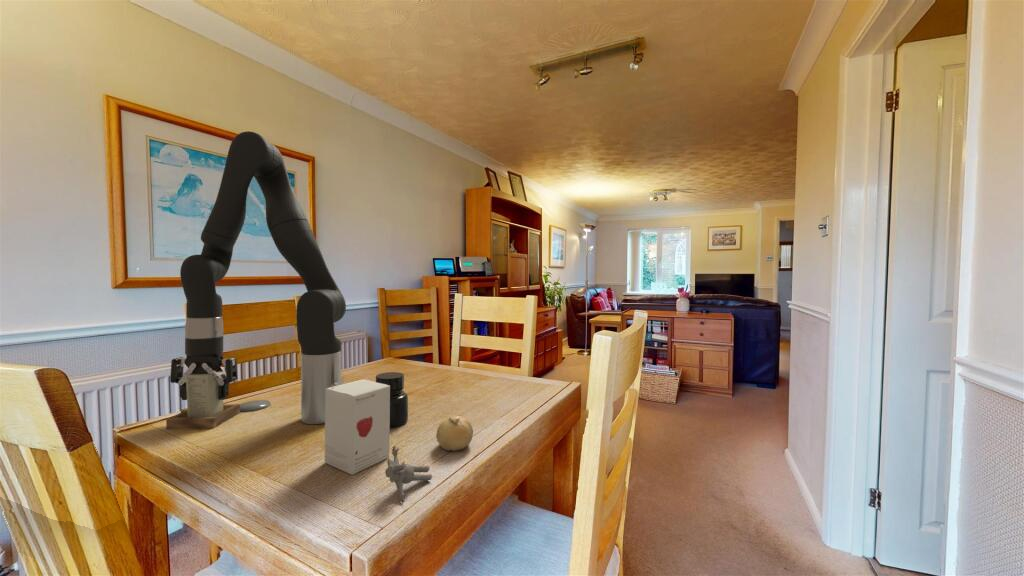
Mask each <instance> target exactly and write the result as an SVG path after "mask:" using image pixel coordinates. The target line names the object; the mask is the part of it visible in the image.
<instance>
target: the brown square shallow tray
mask: <svg viewBox="0 0 1024 576" xmlns="http://www.w3.org/2000/svg"><path fill="white" fill-rule="evenodd" d="M240 404H241V403H226V404H225V403H223V411H222V412H220V413H218V414H216V415H215V416H213V417H188V411H187V408H186V407H185V408H182V409H180V413H177V414H175V415H173V416H171V417H168V418H166V427H165V428H166V430H192V429H193V430H196V429H198V430H199V429H202V430H203V429H204V430H205V429H215V428H217V427H219V426H220V425H222V424H224V423H225V422H227V421H228V419H229V420H230V419H232V418H234V417H235V415H236V416H237V415H239V414H241V412H240ZM233 416H234V417H233ZM223 422H224V423H223Z"/></svg>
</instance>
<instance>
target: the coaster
mask: <svg viewBox="0 0 1024 576" xmlns="http://www.w3.org/2000/svg"><path fill="white" fill-rule="evenodd" d="M239 404H240V413H244V412H245V413H247V412H249V411H250V412H256V411H260V409H261V410H264V409H266V407H267V408H269V407H270V406H271V401H270V400H267V399H258V400H250V401H246V402H245V401H244V402H243V403H242V402H241V403H239ZM268 406H269V407H268ZM255 410H256V411H255Z"/></svg>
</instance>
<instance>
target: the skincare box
mask: <svg viewBox="0 0 1024 576" xmlns="http://www.w3.org/2000/svg"><path fill="white" fill-rule="evenodd" d="M221 372H222V371H221ZM216 373H220V372H216ZM218 386H219V383H218V382H217V381H216V380H215V379H213V378H212V374H191V375H186V389H187V400H186V406H187V411H188V417H213V416H215V415H216V414H218V413H220V412H222V411H223V404H224V399H223V400H219V399H218Z"/></svg>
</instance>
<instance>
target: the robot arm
mask: <svg viewBox="0 0 1024 576" xmlns="http://www.w3.org/2000/svg"><path fill="white" fill-rule="evenodd" d="M253 178H255V180H256V182H257V184H258V185H259V188H260V190H261V192H262V195H263V198H264V199H265V200H264V202H265V219H266V220H265V221H266V222H265V223H266V226H267V229H268V231H269V234H270V236H271V238H272V241H273V243H274V244H275V245H274V246H275V247H276V248H277V250H278V252H279V253H280V254H281V256H282V257H283V258H284V259H285V260H286V262H287V263H288V264H289V265H290V266H291V267H292V269H293V270H294V271H295V272H296V273H297V274H298V275H299V277H300V278H301V280H302V281H303V284H304V286H305V288H306V290H307V291H306V292H304V293H303V294H301V296H299V299H298V301H297V304H296V310H295V311H296V312H295V314H296V317H295V319H296V333H297V334H296V336H297V337H296V338H297V342H298V343H299V346H300V349H301V350H300V354H301V355H300V358H301V359H300V360H301V361H300V362H301V363H300V364H301V365H300V369H301V370H300V371H301V374H300V375H301V377H300V379H301V380H300V382H301V383H300V387H301V390H300V391H301V393H300V394H301V395H300V397H301V402H300V404H301V406H300V407H301V409H300V415H301V420H300V421H301V423H303V424H308V425H319V424H325V389H326V388H330V387H334V386H338V385H342V384H345V379H344V378H343V377H342V341H341V339H340V338H338V337H337V336H336V334H335V323H337V322H339V321H340V320H341V319H342V318H344V316H345V313H346V310H347V305H346V300H345V298H344V294H342V291H341V290H340V288H339V287H338V285H337V283H336V281H335V279H334V278H333V276H332V274H331V272H330V271H329V268H328V266H327V264H326V261H325V259H324V257H323V254H322V252H321V249H320V247H319V244H318V243H317V240H316V237H315V234H314V232H313V230H312V228H311V225H310V223H309V221H308V218H307V217H306V215H305V212H304V210H303V208H302V206H301V203H300V201H299V199H298V198H297V197H298V196H297V195H296V193H295V191H294V188H293V187H292V184H291V181H290V177H289V174H288V171H287V168H286V163H285V160H284V157H283V155H282V153H281V152H280V150H279V149H278V147H276V146H275V145H274V144H273V143H272V142H270V141H268V139H266V138H265V137H263V136H262V135H261V134H259V133H257V132H254V131H242V132H239V133H238V134H237V135H235V136H234V138H233V139H232V140H231V143H230V145H229V148H228V153H227V156H226V160H225V165H224V168H223V172H222V177H221V181H220V185H219V189H218V192H217V197H216V199H215V202H214V205H213V207H212V209H211V212H210V213H209V215H208V218H207V220H206V223H205V225H204V226H203V229H202V231H201V235H200V241H201V242H202V243H203V246H202V250H201V252H200V254H192V255H190V256H188V257H186V258H184V260H183V262H182V263H181V266H180V269H179V271H180V275H179V276H180V281H181V286H182V289H183V292H184V296H185V298H186V304H185V305H186V306H185V309H186V310H185V313H186V316H185V317H186V318H185V324H184V325H185V326H184V354H185V357H182V356H180V357H175V358H172V359H171V362H170V363H171V364H170V379H169V382H170V383H171V384H174V383H175V384H177V385H179V397H180V398H181V401H187V389H186V375H191V374H212V378H213V379H215V380H216V381H217V382H218V383H219V386H218V399H219V400H223V401H224V400H225V399H226V398H228V397H229V395H230V384H231V383H233V382H235V381H238V379H239V378H238V363H237V362H238V361H237V360H238V359H237V358H236V357H235V356H232V357H230V358H224V356H223V353H224V321H223V299H222V296H221V295H220V294H219V293H217V289H216V283H218V282H219V281H221V280H222V279H224V278H225V276H226V275H227V273H228V271H229V268H230V266H231V262H232V257H233V253H234V252H233V251H234V246H235V244H236V243H237V240H238V238H239V236H240V234H241V231H242V230H243V226H244V225H245V220H246V213H247V199H248V198H247V197H248V191H249V187H250V186H251V185H250V184H251V182H252V181H253ZM223 366H224V367H225V369H224V368H223ZM184 367H187V370H186V371H184ZM221 371H222V372H221ZM216 372H220V373H216Z"/></svg>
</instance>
